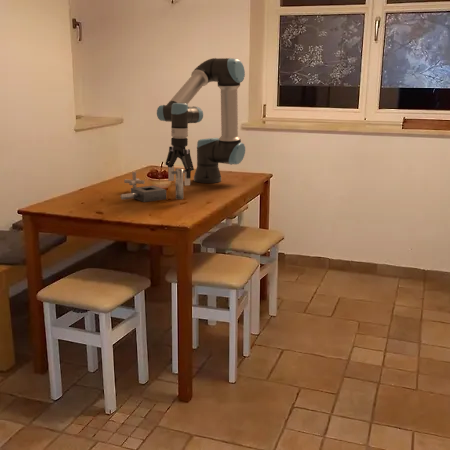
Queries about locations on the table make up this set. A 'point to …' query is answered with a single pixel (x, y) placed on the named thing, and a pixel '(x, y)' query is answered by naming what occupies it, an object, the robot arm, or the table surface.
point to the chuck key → (179, 182)
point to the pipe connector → (134, 180)
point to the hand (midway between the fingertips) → (179, 183)
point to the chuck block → (146, 194)
